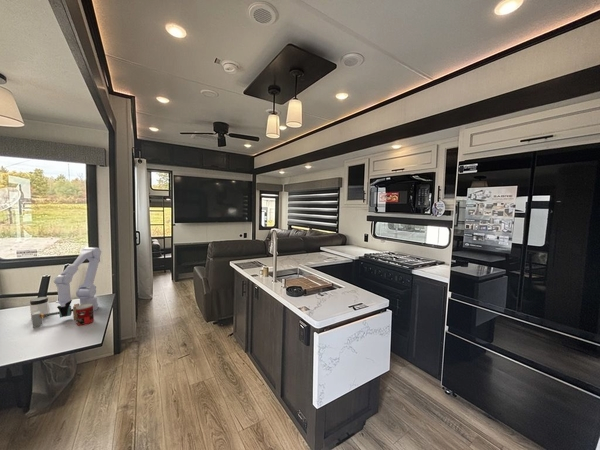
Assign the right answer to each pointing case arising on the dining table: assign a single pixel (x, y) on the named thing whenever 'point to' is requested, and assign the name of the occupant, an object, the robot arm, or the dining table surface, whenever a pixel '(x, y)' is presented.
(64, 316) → the sleeve
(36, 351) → the dining table surface
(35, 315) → the rod peg assembly
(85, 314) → the canned food
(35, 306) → the jar
